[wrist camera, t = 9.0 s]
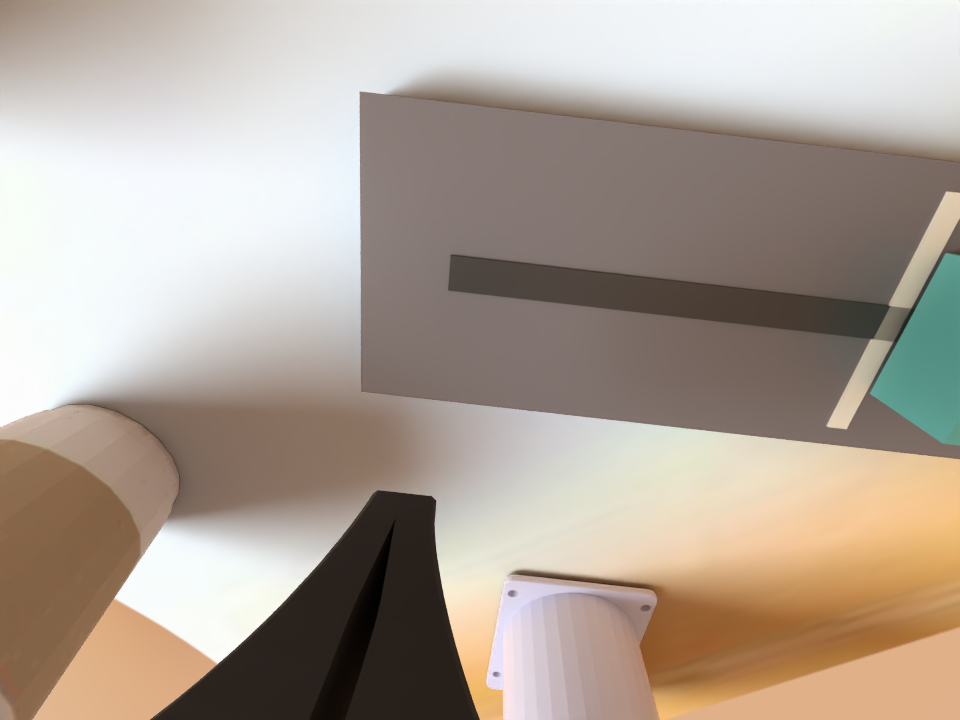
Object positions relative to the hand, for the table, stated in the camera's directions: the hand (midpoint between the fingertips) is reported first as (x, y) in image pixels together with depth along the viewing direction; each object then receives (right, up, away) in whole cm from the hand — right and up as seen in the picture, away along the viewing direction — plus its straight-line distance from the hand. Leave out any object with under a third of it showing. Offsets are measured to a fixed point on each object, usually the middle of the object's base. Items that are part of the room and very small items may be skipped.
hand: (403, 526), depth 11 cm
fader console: (+10, +7, +7) cm, 14 cm away
